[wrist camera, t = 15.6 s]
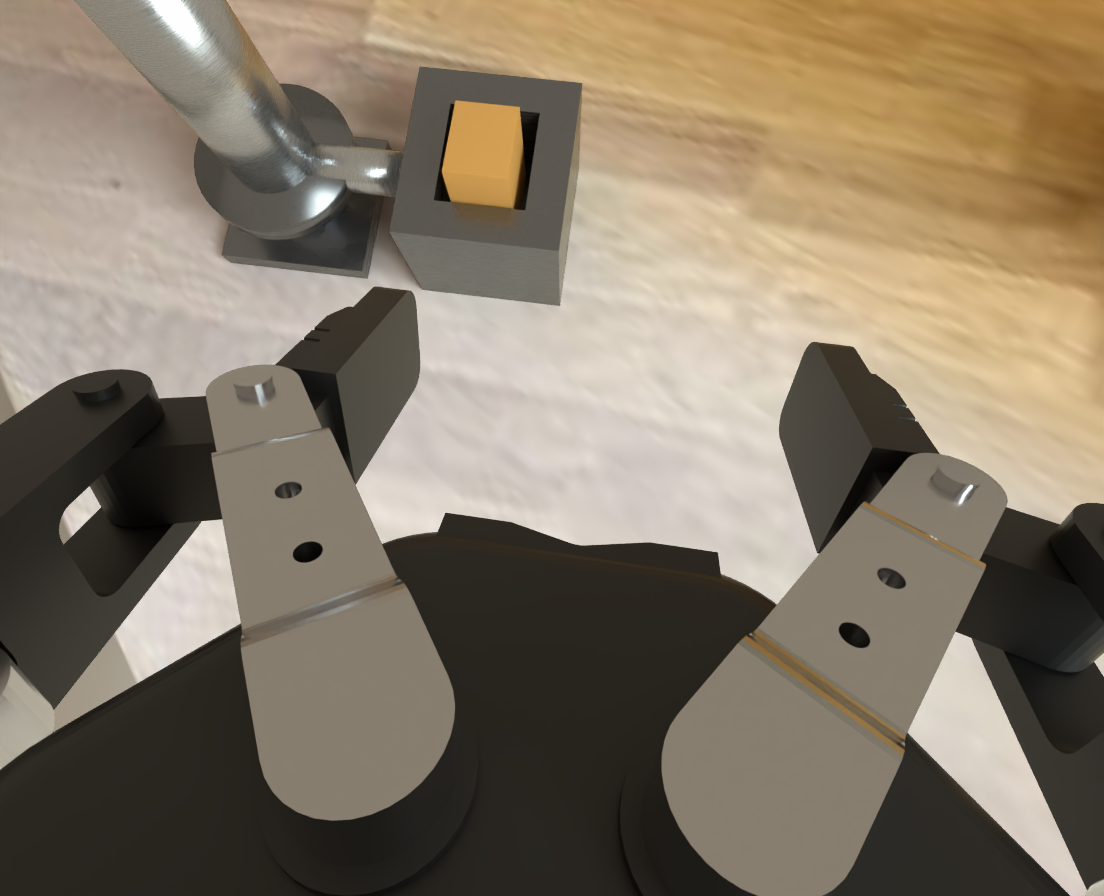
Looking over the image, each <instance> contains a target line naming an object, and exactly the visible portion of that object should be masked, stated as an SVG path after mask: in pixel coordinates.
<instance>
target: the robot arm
mask: <svg viewBox="0 0 1104 896" xmlns="http://www.w3.org/2000/svg"><path fill="white" fill-rule="evenodd" d="M419 373H420V350H419V337H418V323H417V309H416V301H415V297H414V294H413V293H412V292H411V291H407V290H399V289H391V288H383V287H373V288H372V289H371V290H370V291H369V292H368V293H367V294H366V295H365V296H364V297H363V298H362V299H361V300H360V301H359V302H358V303H357V304H356V305H355V306H354V307H346V308H344V309H342V310H339V311H337V312H335V313H333V314H330V315H328V316H327V317H325V318H324V319H323V320H322V321H321V322H320V323H319V324H318V325H317V326H316V327H315V330H312V331H311V332H310V333H308V334H307V335H306V336H305V337H304V340H301V341H300V342H299V343H298V344H297V345H296V346H295V347H294V348H293V349H291V350H290V351H289V352H288V353H287V354H286V355H285V356H284V357H283V358H282V359H281V360H280V361H279V362H278V363H277V364H275V365H254V366H247V367H242V368H238V369H235V370H232V371H229V372H227V373H225V374H223V375H221V376H219V377H218V378H216V379H215V380H213V381H212V382H211V383H210V384H209V386H208V387H207V390H206V396H201V397H182V398H162V399H159V398H158V395H157V393H156V390H155V388H154V385H153V383H152V381H151V379H150V377H148V376H147V375H146V374H143V373H141V372H138V371H133V370H122V369H120V370H105V371H98V372H93V373H89V374H85V375H82V376H78V377H75V378H73V379H70V380H68V381H66V382H64V383H61V384H60V385H58V386H56V387H55V388H53V389H52V390H50V391H49V392H47V393H46V394H44V395H43V396H41V397H40V398H39V399H37V400H36V401H34V402H33V403H31V404H30V405H28V406H27V407H25V408H24V409H23V410H21V411H20V412H18V413H17V414H15V415H14V416H12V417H11V418H9V419H8V420H7V421H5V422H4V423H2V424H1V425H0V896H1070V895H1069V894H1068V893H1067V892H1066V891H1065V890H1064V889H1063V888H1062V887H1061V886H1060V885H1059V884H1058V883H1057V882H1056V881H1055V880H1054V879H1053V878H1052V877H1051V876H1050V875H1049V874H1048V873H1047V872H1046V871H1045V870H1044V869H1043V868H1042V867H1041V866H1040V865H1039V864H1038V863H1037V862H1036V861H1035V860H1034V859H1033V858H1032V857H1031V856H1030V855H1029V854H1028V853H1027V852H1026V851H1025V850H1024V849H1023V848H1022V847H1021V846H1020V845H1019V844H1018V843H1017V842H1016V841H1015V840H1014V839H1013V838H1012V837H1011V836H1010V835H1009V834H1008V833H1007V832H1006V831H1005V830H1004V829H1003V828H1002V827H1001V826H1000V825H999V824H998V823H997V822H996V821H995V820H994V819H993V818H992V817H991V816H990V815H989V814H988V813H987V812H986V811H985V810H984V809H983V808H982V807H981V806H980V805H979V804H978V803H977V802H976V801H975V800H974V799H973V798H972V797H971V796H970V795H969V794H968V793H967V792H966V791H965V790H964V789H963V788H962V787H961V786H960V785H959V784H958V783H957V782H956V781H955V780H954V779H953V778H952V777H951V776H950V775H949V774H948V773H947V772H946V771H945V770H944V769H943V768H942V767H941V766H940V765H939V764H938V763H937V762H936V761H935V760H934V759H933V758H932V757H931V756H930V755H929V754H928V753H927V752H926V751H925V750H924V749H923V748H922V747H921V746H920V745H919V744H918V743H917V742H916V741H915V740H914V739H913V738H912V737H911V736H910V735H909V734H908V733H907V732H908V730H909V727H910V725H911V723H912V721H913V719H914V717H915V715H916V713H917V711H918V709H919V706H920V704H921V702H922V700H923V698H924V696H925V694H926V692H927V690H928V688H929V686H930V683H931V681H932V679H933V677H934V675H935V673H936V671H937V669H938V667H939V665H940V662H941V660H942V658H943V656H944V654H945V652H946V650H947V648H948V646H949V644H950V642H951V639H952V637H953V635H954V633H955V632H958V633H960V634H963V635H966V636H968V637H971V638H972V640H973V643H974V646H975V648H976V650H977V652H978V654H979V656H980V659H981V661H982V663H983V665H984V667H985V669H986V672H987V674H988V676H989V678H990V680H991V682H992V685H993V687H994V689H995V691H996V693H997V695H998V698H999V700H1000V702H1001V704H1002V706H1003V709H1004V711H1005V713H1006V715H1007V717H1008V719H1009V722H1010V724H1011V726H1012V728H1013V730H1014V732H1015V735H1016V737H1017V739H1018V741H1019V743H1020V745H1021V748H1022V750H1023V752H1024V754H1025V756H1026V758H1027V761H1028V763H1029V765H1030V767H1031V769H1032V772H1033V774H1034V776H1035V778H1036V780H1037V782H1038V785H1039V787H1040V789H1041V791H1042V793H1043V795H1044V798H1045V800H1046V802H1047V804H1048V806H1049V808H1050V811H1051V813H1052V815H1053V817H1054V819H1055V821H1056V824H1057V826H1058V828H1059V830H1060V832H1061V834H1062V837H1063V839H1064V841H1065V843H1066V845H1067V848H1068V850H1069V852H1070V854H1071V856H1072V858H1073V861H1074V863H1075V865H1076V867H1077V869H1078V871H1079V874H1080V876H1081V878H1082V880H1083V882H1084V884H1085V887H1086V889H1087V892H1086V894H1085V896H1104V677H1103V675H1102V674H1101V672H1100V670H1099V669H1098V667H1097V666H1096V664H1095V663H1094V661H1095V660H1096V659H1097V658H1098V657H1100V656H1101V655H1102V654H1103V653H1104V504H1099V503H1085V504H1081V505H1078V506H1077V507H1075V508H1074V509H1073V511H1072V512H1071V513H1070V514H1069V515H1068V516H1067V518H1066V519H1065V520H1064V521H1063V522H1062V523H1061V524H1056V523H1053V522H1050V521H1047V520H1044V519H1041V518H1038V517H1035V516H1031V515H1028V514H1025V513H1022V512H1019V511H1016V510H1013V509H1010V508H1007V507H1006V506H1007V502H1008V500H1007V495H1006V493H1005V491H1004V490H1003V488H1002V487H1001V486H1000V485H999V484H998V483H997V482H996V481H995V480H994V479H993V478H992V477H991V476H989V475H988V474H986V473H985V472H983V471H982V470H980V469H978V468H977V467H975V466H973V465H971V464H969V463H967V462H964V461H962V460H959V459H956V458H953V457H950V456H946V455H942V454H939V452H938V451H937V449H936V448H935V446H934V445H933V443H932V442H931V440H930V439H929V437H928V436H927V435H926V433H925V432H924V430H923V429H922V427H921V426H920V424H919V423H918V422H916V421H915V417H914V415H913V414H912V412H911V411H910V410H909V408H906V406H907V405H906V404H905V402H904V401H903V399H902V398H901V396H900V395H899V393H898V392H897V390H896V389H895V388H893V387H892V386H891V385H889V384H888V383H887V382H885V381H884V380H883V379H881V378H880V377H878V376H877V375H876V374H871V373H870V372H869V370H868V368H867V367H866V365H865V364H864V362H863V361H862V359H861V357H860V356H859V354H858V353H857V351H856V350H855V348H854V347H851V346H843V345H835V344H827V343H819V342H812V343H811V344H809V346H808V347H807V348H806V350H805V352H804V354H803V357H802V360H801V362H800V365H799V367H798V370H797V373H796V375H795V378H794V380H793V383H792V386H791V388H790V391H789V393H788V396H787V399H786V401H785V404H784V406H783V409H782V413H781V417H780V424H779V435H780V440H781V443H782V446H783V449H784V452H785V455H786V458H787V462H788V465H789V468H790V471H791V474H792V477H793V480H794V483H795V486H796V489H797V492H798V495H799V498H800V502H801V505H802V508H803V511H804V514H805V517H806V520H807V523H808V526H809V529H810V532H811V535H812V538H813V542H814V545H815V548H816V551H817V553H820V554H819V555H818V556H817V558H816V559H815V560H814V561H813V562H812V564H811V565H810V566H809V567H808V568H807V570H806V571H805V572H804V573H803V574H802V576H801V577H800V578H799V579H798V580H797V582H796V583H795V584H794V585H793V586H792V588H791V589H790V590H789V591H788V592H787V593H786V595H785V596H784V597H783V598H782V599H781V601H780V602H779V603H778V604H775V603H774V602H773V601H771V600H770V599H768V598H767V597H765V596H764V595H762V594H761V593H759V592H758V591H756V590H754V589H752V588H751V587H749V586H747V585H745V584H743V583H741V582H739V581H737V580H734V579H732V578H730V577H727V576H725V575H722V574H721V573H720V566H719V558H718V552H711V551H704V550H697V549H691V548H684V547H677V546H670V545H663V544H656V543H629V544H609V545H588V546H580V545H575V544H571V543H568V542H565V541H563V540H560V539H557V538H554V537H551V536H548V535H546V534H543V533H540V532H537V531H534V530H531V529H529V528H526V527H523V526H520V525H517V524H514V523H512V522H506V521H499V520H492V519H485V518H478V517H471V516H465V515H458V514H451V513H445V515H444V518H443V520H442V523H441V525H440V528H439V530H438V532H432V533H423V534H416V535H411V536H407V537H403V538H398V539H395V540H392V541H389V542H386V543H383V544H382V543H381V541H380V539H379V537H378V534H377V532H376V530H375V528H374V526H373V523H372V521H371V519H370V517H369V514H368V512H367V510H366V508H365V505H364V503H363V501H362V499H361V497H360V494H359V492H358V490H357V488H356V483H357V482H358V480H359V478H360V477H361V475H362V474H363V472H364V470H365V469H366V467H367V465H368V464H369V462H370V461H371V459H372V457H373V456H374V454H375V453H376V451H377V449H378V448H379V446H380V444H381V443H382V441H383V440H384V438H385V436H386V435H387V433H388V431H389V430H390V428H391V427H392V425H393V423H394V422H395V420H396V419H397V417H398V415H399V414H400V412H401V410H402V409H403V407H404V406H405V404H406V402H407V401H408V399H409V397H410V396H411V394H412V393H413V391H414V389H415V387H416V385H417V382H418V378H419ZM89 486H90V487H91V489H92V491H93V493H94V494H95V496H96V498H97V500H98V502H99V503H100V505H101V508H100V509H99V510H98V511H97V512H96V513H95V514H94V515H93V516H92V517H91V518H90V519H89V520H88V521H87V522H86V523H85V524H84V525H83V526H82V527H81V528H80V529H79V530H78V531H77V532H76V533H75V534H74V535H73V536H72V537H71V538H70V539H69V540H68V541H67V542H66V543H65V544H64V545H63V543H62V541H61V539H60V535H59V523H60V519H61V517H62V515H63V513H64V511H65V509H66V508H67V507H68V506H69V505H70V503H72V502H73V501H74V500H75V499H76V498H77V497H78V496H79V495H80V494H81V493H82V492H83V491H85V490H86V489H87V488H88V487H89ZM219 519H223V525H224V530H225V536H226V541H227V547H228V553H229V558H230V564H231V569H232V575H233V581H234V586H235V592H236V597H237V603H238V609H239V614H240V620H241V624H239V625H237V626H236V627H234V628H232V629H231V630H229V631H227V632H225V633H224V634H222V635H220V636H218V637H217V638H215V639H213V640H212V641H210V642H208V643H206V644H205V645H203V646H201V647H199V648H198V649H196V650H194V651H193V652H191V653H189V654H187V655H186V656H184V657H182V658H181V659H179V660H177V661H175V662H174V663H172V664H170V665H168V666H167V667H165V668H163V669H162V670H160V671H158V672H156V673H155V674H153V675H151V676H149V677H148V678H146V679H144V680H143V681H141V682H139V683H137V684H136V685H134V686H132V687H131V688H129V689H127V690H125V691H124V692H122V693H120V694H118V695H117V696H115V697H113V698H112V699H110V700H108V701H107V702H105V703H103V704H101V705H99V706H98V707H96V708H94V709H93V710H91V711H89V712H87V713H86V714H84V715H82V716H81V717H79V718H77V719H75V720H74V721H72V722H71V723H68V724H67V725H65V726H63V727H62V728H60V729H58V730H56V731H55V732H53V728H54V724H55V715H54V711H53V710H54V709H55V708H56V707H57V705H58V704H59V703H60V701H61V700H62V699H63V698H64V696H65V695H66V694H67V693H68V691H69V690H70V689H71V687H72V686H73V685H74V683H75V682H76V681H77V680H78V679H79V677H80V676H81V675H82V674H83V672H84V671H85V670H86V668H87V667H88V666H89V665H90V663H91V662H92V661H93V660H94V658H95V657H96V656H97V654H98V653H99V652H100V651H101V649H102V648H103V647H104V646H105V644H106V643H107V642H108V640H109V639H110V638H111V637H112V635H113V634H114V633H115V631H116V630H117V629H118V628H119V626H120V625H121V624H122V623H123V621H124V620H125V619H126V617H127V616H128V615H129V614H130V612H131V611H132V610H133V609H134V607H135V606H136V605H137V603H138V602H139V601H140V600H141V598H142V597H143V596H144V595H145V593H146V592H147V591H148V589H149V588H150V587H151V586H152V584H153V583H154V582H155V581H156V579H157V578H158V577H159V575H160V574H161V573H162V572H163V570H164V569H165V568H166V567H167V565H168V564H169V563H170V561H171V560H172V559H173V558H174V556H175V555H176V554H177V552H178V551H179V550H180V549H181V547H182V546H183V545H184V544H185V542H186V541H187V540H188V538H189V537H190V536H191V535H192V533H193V532H194V531H195V530H196V528H197V527H198V526H199V524H200V523H201V521H208V520H219ZM52 732H53V733H52Z"/></svg>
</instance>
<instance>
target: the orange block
mask: <svg viewBox="0 0 1104 896" xmlns="http://www.w3.org/2000/svg"><path fill="white" fill-rule="evenodd" d="M442 174H443V177H444V181H445V184H446V187H447V190H448V194H449V197H450V200H451V202H453V203H462V204H471V205H480V206H489V207H498V208H507V209H516V210H521V202H522V196H523V189H524V183H525V177H526V171H525V160H524V149H523V138H522V127H521V116H520V107H515V106H505V105H495V104H486V103H476V102H466V101H457V100H456V101H455V106H454V111H453V116H452V121H451V126H450V132H449V137H448V142H447V147H446V152H445V157H444V163H443V168H442Z"/></svg>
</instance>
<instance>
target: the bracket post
mask: <svg viewBox="0 0 1104 896" xmlns="http://www.w3.org/2000/svg"><path fill="white" fill-rule="evenodd" d="M74 1H75V2H76V3H77V4H78V5H79V6H80V8H81V9H82V10H83V11H84V12H85V13H86V14H87V15H88V16H89V17H90V18H91V20H92V21H93V22H94V23H95V24H96V25H97V26H98V27H99V28H100V29H101V30H102V32H103V33H104V34H105V35H106V36H107V37H108V38H109V39H110V40H111V41H112V42H113V44H114V45H115V46H116V47H117V48H118V49H119V50H120V51H121V52H122V53H123V54H124V56H125V57H126V58H127V59H128V60H129V61H130V62H131V63H132V64H133V65H134V66H135V68H136V69H137V70H138V71H139V72H140V73H141V74H142V75H143V76H144V77H145V78H146V80H147V81H148V82H149V83H150V84H151V85H152V86H153V87H154V88H155V89H156V90H157V92H158V93H159V94H160V95H161V96H162V97H163V98H164V99H165V100H166V101H167V102H168V104H169V105H170V106H171V107H172V108H173V109H174V110H175V111H176V112H177V113H178V114H179V116H180V117H181V118H182V119H183V120H184V121H185V122H186V123H187V124H188V125H189V126H190V128H191V129H192V130H193V131H194V132H195V133H196V134H197V135H198V136H199V139H198V142H197V145H196V150H195V155H194V168H195V176H196V179H197V183H198V186H199V188H200V190H201V193H202V194H203V196H204V197H205V199H206V200H207V202H208V203H209V204H210V205H211V206H212V208H214V209H215V210H216V211H217V212H218V213H219V214H220V215H221V216H222V217H223V218H224V219H225V220H226V221H228V222H229V226H228V230H227V234H226V239H225V243H224V247H223V252H222V256H224V257H225V258H226V259H227V260H228V261H230V262H231V263H239V264H248V265H256V266H265V267H273V268H282V269H290V270H299V271H307V272H316V273H324V274H333V275H342V276H350V277H359V278H367V279H368V274H369V269H370V263H371V258H372V253H373V248H374V242H375V237H376V232H377V227H378V221H379V216H380V211H381V206H382V200H383V196H389V197H395V202H394V207H393V213H392V218H391V224H390V229H389V233H390V234H391V236H392V238H393V240H394V241H395V243H396V245H397V247H398V248H399V250H400V252H401V253H402V255H403V257H404V259H405V260H406V262H407V264H408V266H409V267H410V269H411V271H412V273H413V274H414V276H415V278H416V279H417V281H418V283H419V285H420V286H421V288H422V290H431V291H439V292H448V293H456V294H465V295H473V296H482V297H490V298H499V299H507V300H516V301H524V302H533V303H541V304H550V305H558V306H560V301H561V293H562V286H563V279H564V271H565V264H566V257H567V249H568V242H569V235H570V227H571V220H572V213H573V205H574V198H575V191H576V183H577V176H578V169H579V149H580V124H581V100H582V83H575V82H565V81H555V80H546V79H536V78H526V77H516V76H506V75H497V74H487V73H477V72H467V71H457V70H447V69H438V68H428V67H420V68H419V73H418V79H417V84H416V90H415V95H414V100H413V106H412V111H411V116H410V122H409V127H408V132H407V138H406V143H405V149H404V152H402V151H392V150H391V148H390V146H389V143H388V141H386V140H377V139H368V138H358V137H354V136H353V134H352V132H351V130H350V128H349V126H348V125H347V123H346V121H345V119H344V117H343V116H342V114H341V113H340V111H339V110H338V109H337V108H336V107H335V105H334V104H333V103H332V102H330V101H329V100H328V99H327V98H325V97H324V96H322V95H321V94H319V93H317V92H315V91H313V90H311V89H309V88H305V87H302V86H299V85H293V84H280V83H278V82H277V80H276V79H275V77H274V75H273V74H272V72H271V71H270V69H269V68H268V66H267V64H266V63H265V61H264V60H263V58H262V56H261V55H260V53H259V52H258V50H257V49H256V47H255V45H254V44H253V42H252V41H251V39H250V37H249V36H248V34H247V33H246V31H245V30H244V28H243V26H242V25H241V23H240V22H239V20H238V19H237V17H236V15H235V14H234V12H233V11H232V9H231V7H230V6H229V4H228V3H227V1H226V0H74ZM456 100H457V101H466V102H476V103H486V104H495V105H505V106H515V107H520V116H521V127H522V138H523V149H524V160H525V171H526V177H525V183H524V189H523V196H522V202H521V210H516V209H507V208H498V207H489V206H480V205H471V204H462V203H453V202H451V200H450V197H449V194H448V190H447V187H446V184H445V181H444V177H443V174H442V168H443V163H444V157H445V152H446V147H447V142H448V137H449V132H450V126H451V121H452V116H453V111H454V106H455V101H456Z"/></svg>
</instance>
